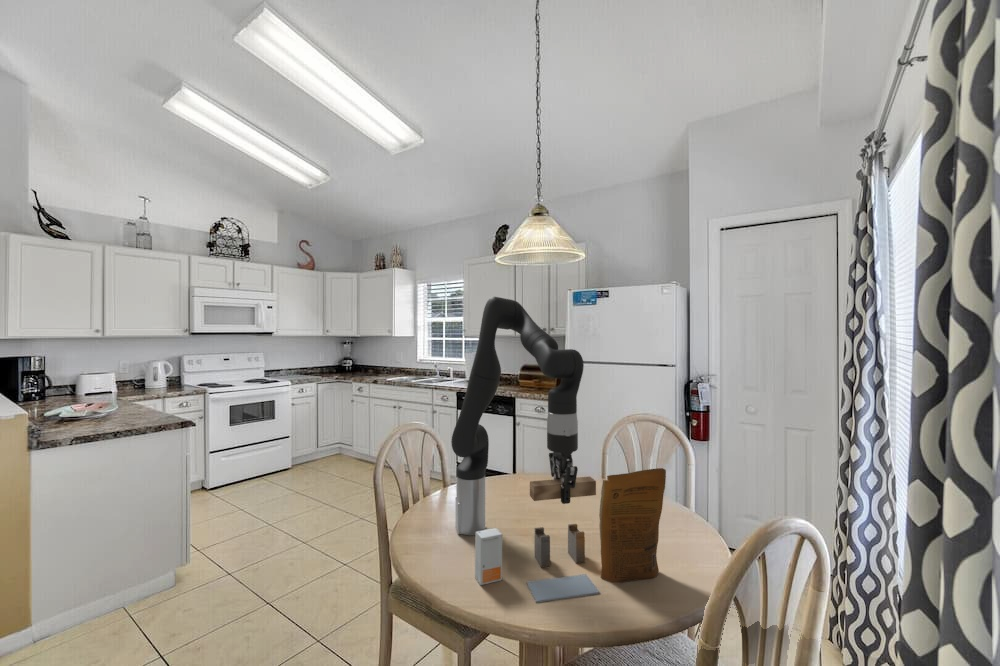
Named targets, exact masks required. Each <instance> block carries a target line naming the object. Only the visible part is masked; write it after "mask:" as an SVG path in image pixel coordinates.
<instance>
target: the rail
mask: <svg viewBox="0 0 1000 666" xmlns="http://www.w3.org/2000/svg"><path fill="white" fill-rule="evenodd" d="M596 495H597V480H595V479H594V478H593V477H592V476H580V477H576V482H575V488H570V499H571V498H580V497H581V498H582V497H591V496H596ZM529 497H530V498H531V499H532V500H533V502H539V501H547V500H559V499H560V500H561V483H560V479H554V478H553V479H545V480H543V479H541V480H533V481H531V480H530V481H529Z"/></svg>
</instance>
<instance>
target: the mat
mask: <svg viewBox="0 0 1000 666" xmlns="http://www.w3.org/2000/svg"><path fill="white" fill-rule="evenodd" d="M526 584H527V586H528V589H529V591H530V592H531V594H532V597H533V599H534V600H535V603H543V602H549V601H556V600H563V599H565V600H566V599H570V598H578V597H585V596H591V595H592V596H593V595H598V594H601V592H600V590H599V589H598V588H597V587H596V585H595V584H594V583H593V581H592V580H591V579H590V577H589V576H588V575H587V573H585V574H577V575H569V576H562V577H554V578H545V579H537V580H531V581H526Z"/></svg>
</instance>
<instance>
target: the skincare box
mask: <svg viewBox="0 0 1000 666" xmlns="http://www.w3.org/2000/svg"><path fill="white" fill-rule="evenodd" d="M500 531H501V530H499V529H498V528H497V527H495V528H485V530H482V531H477V532H475V535H474V537H475V540H474V541H475V543H474V544H475V545H474V551H475V552H474V578H475V580H476V581H477V583H478V584H479V586H483V585H487V584H491V583H496V582H501V581H502V580H503V577H502V576H503V533H502V532H500Z"/></svg>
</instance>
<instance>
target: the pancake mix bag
mask: <svg viewBox="0 0 1000 666" xmlns="http://www.w3.org/2000/svg"><path fill="white" fill-rule="evenodd" d="M666 477H667V469H665V468H661V467H660V468H651V469H650V468H649V469H643V470H637V471H632V472H627V473H619V474H610V475H607V476H606V479H603V480H602V484H601V491H600V505H599V513H598V514H599V538H600V539H599V540H600V558H601V559H600V561H601V572H600V579H602V580H605V581H607V582H611V583H624V582H625V583H626V582H631V581H632V582H634V581H639V580H649V579H655V578H657V576H658V574H659V572H660V570H659V565H658V561H657V560H658V557H657V552H658V551H657V550H658V543H659V538H660V537H659V528H660V520H661V518H662V517H661V515H662V511H663V504H664V496H665V495H664V494H665V489H666V480H667V478H666Z"/></svg>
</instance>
